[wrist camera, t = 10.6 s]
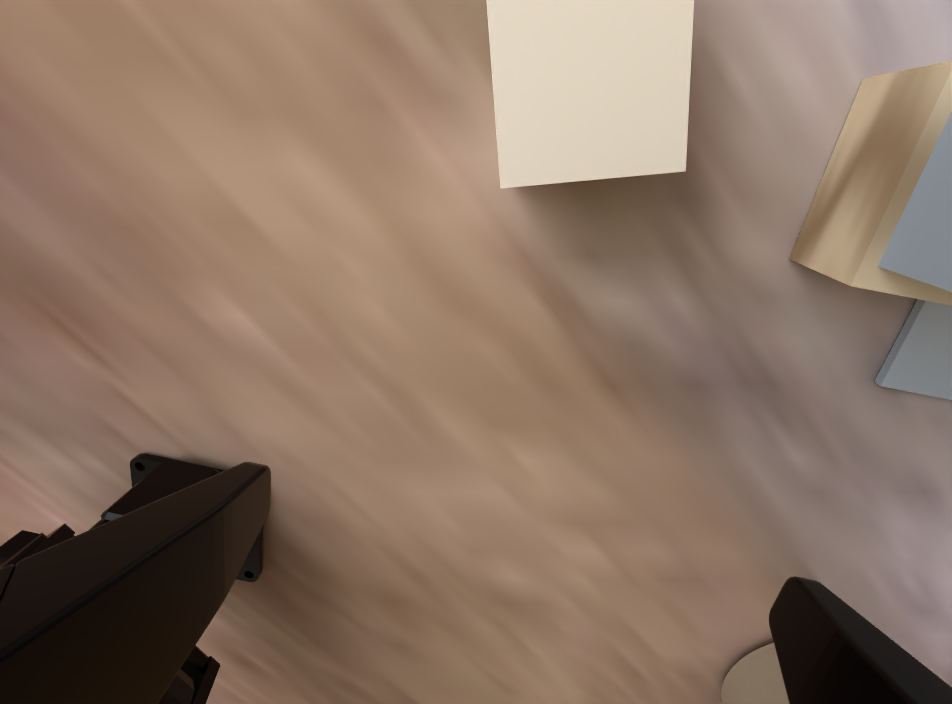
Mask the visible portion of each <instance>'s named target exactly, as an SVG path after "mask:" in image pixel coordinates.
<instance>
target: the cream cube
mask: <svg viewBox="0 0 952 704" xmlns="http://www.w3.org/2000/svg"><path fill="white" fill-rule="evenodd" d="M693 10H694V0H487V13H488V26H489V40H490V53H491V67H492V80H493V94H494V107H495V120H496V134H497V147H498V161H499V174H500V188H511V187H521V186H532V185H543V184H554V183H565V182H576V181H587V180H597V179H608V178H619V177H630V176H641V175H652V174H663V173H673V172H684V171H686V155H687V134H688V113H689V93H690V72H691V51H692V31H693Z"/></svg>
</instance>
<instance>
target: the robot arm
mask: <svg viewBox="0 0 952 704" xmlns="http://www.w3.org/2000/svg"><path fill="white" fill-rule="evenodd" d="M130 469H131V479H132V488H131V489H130V490H129V491H128V492H127V493H125V494H124V495H123V496H122V497H121V498H120V499H118V500H117V501H116V502H115V503H114V504H113V505H111V506H110V507H109V508H108V509H107V510H105V511H104V512H103V513H102V515H101V520H100V521H99V522H98V523H96V524H95V525H94V526H93V527H92V528H91V529H90V530H88V531H86V532H84V533H82V534H80V535H77V536H74V534H75V532H74V531H73V530H72V529H71V528H70V527H68V526H67V525H66V524H63V525H62V526H60V527H59V528H58V529H56V530H55V531H53V532H52V533H50V534H49V535H47V536H45V535H44V534H43V533H41V534H37V533H33V532H28V531H23V530H22V531H21V532H19V533H18V534H16V535H15V536H14V537H12V538H11V539H10V540H8V541H7V542H6V543H4V544H3V545H2V546H0V704H206V701H207V699H208V696H209V693H210V691H211V688H212V686H213V683H214V680H215V678H216V675H217V673H218V670H219V667H220V664H219V663H218V662H217V661H216V660H215V659H214V658H213V657H212V656H210V657H208V656H207V655H205V654H204V653H203V652H202V651H201V650H200V649H199V648H198V647H197V646H196V643H197V642H198V640H199V639H200V637H201V636H202V634H203V632H204V631H205V629H206V628H207V626H208V625H209V623H210V622H211V620H212V619H213V617H214V616H215V614H216V612H217V611H218V609H219V608H220V606H221V604H222V603H223V601H224V599H225V598H226V596H227V594H228V592H229V590H230V588H231V587H232V585H233V583H234V581H235V579H239V580H243V581H248V582H254V581H256V580H257V579H258V578H259V576H260V574H261V572H262V536H263V524H264V522H265V520H266V518H267V515H268V512H269V509H270V495H271V471H270V468H269V467H268V466H266V465H261V464H257V463H252V462H244V463H241V464H239V465H237V466H235V467H232V468H230V469H228V470H220V469H216V468H211V467H206V466H201V465H197V464H192V463H187V462H182V461H178V460H173V459H168V458H163V457H159V456H154V455H149V454H142V453H141V454H138V455H137V456H136V457H134V458H133V459H132V460H131V461H130ZM769 625H770V630H771V634H772V638H773V642H774V645H775V649H776V653H777V657H778V661H779V665H780V669H781V673H782V677H783V681H784V685H785V689H786V693H787V697H788V701H789V704H952V687H950V686H949V685H948V684H947V683H945V682H944V681H943V680H942V679H940V678H939V677H938V676H937V675H935V674H934V673H933V672H932V671H930V670H929V669H928V668H927V667H925V666H924V665H923V664H922V663H920V662H919V661H918V660H916V659H915V658H914V657H913V656H911V655H910V654H909V653H908V652H906V651H905V650H904V649H903V648H901V647H900V646H899V645H898V644H896V643H895V642H894V641H893V640H891V639H890V638H889V637H888V636H886V635H885V634H884V633H883V632H881V631H880V630H879V629H877V628H876V627H875V626H874V625H872V624H871V623H870V622H869V621H867V620H866V619H865V618H864V617H862V616H861V615H860V614H859V613H857V612H856V611H855V610H854V609H852V608H851V607H850V606H849V605H847V604H846V603H845V602H844V601H842V600H841V599H840V598H838V597H837V596H836V595H835V594H833V593H832V592H831V591H830V590H828V589H827V588H826V587H825V586H823V585H822V584H821V583H819V582H817V581H815V580H810V579H806V578H801V577H796V576H794V577H790V578H789V579H787V580H786V582H785V584H784V585H783V587H782V589H781V591H780V593H779V595H778V597H777V598H776V600H775V602H774V604H773V606H772V608H771V610H770V614H769Z"/></svg>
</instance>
